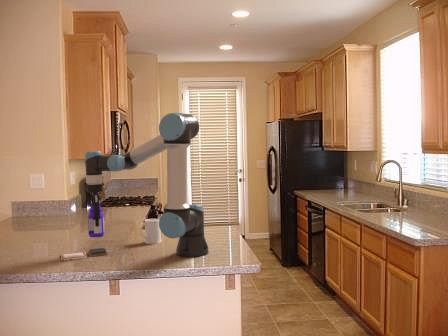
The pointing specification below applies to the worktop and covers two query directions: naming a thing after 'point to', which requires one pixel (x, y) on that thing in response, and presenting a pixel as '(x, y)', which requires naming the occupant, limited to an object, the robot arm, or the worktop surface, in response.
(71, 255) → the print board
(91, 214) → the bottle
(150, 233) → the mug
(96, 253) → the ink pad
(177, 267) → the worktop surface
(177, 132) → the robot arm
